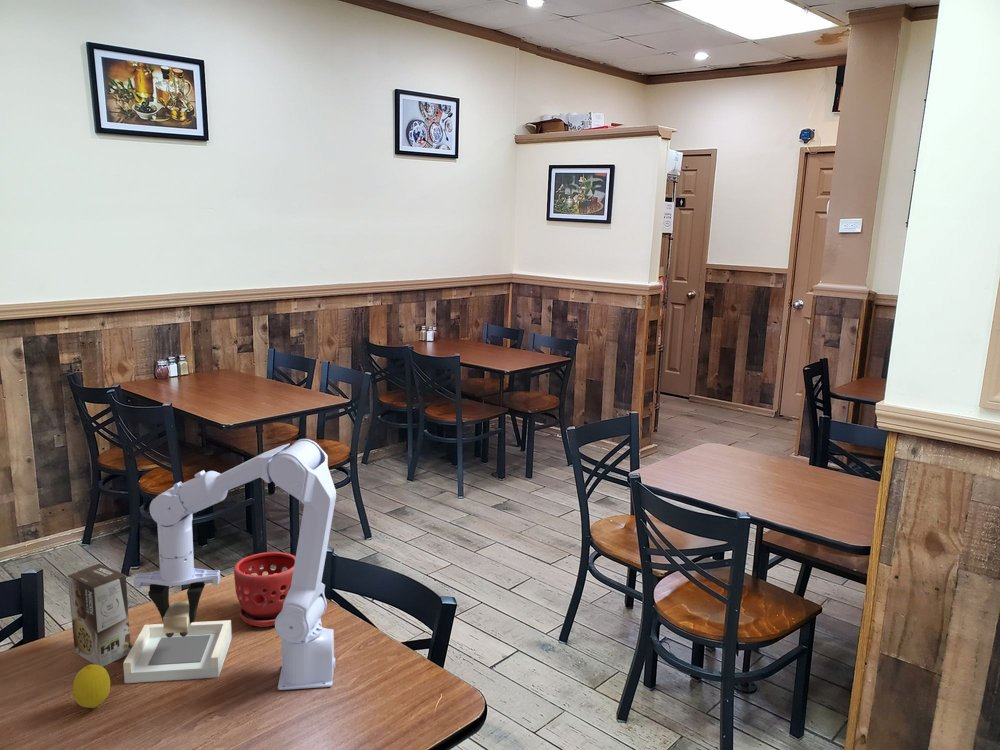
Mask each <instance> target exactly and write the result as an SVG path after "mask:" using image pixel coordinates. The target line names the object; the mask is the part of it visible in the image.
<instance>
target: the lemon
mask: <svg viewBox="0 0 1000 750" xmlns="http://www.w3.org/2000/svg"><path fill="white" fill-rule="evenodd" d="M110 690H111V678H110V675H109V673H108V671H107V669H106V668H104V666H103V667H102V666H100V665H95V664H93V663H92V664H91V663H90V664H88V665H86V666H84V667H82V668H81V669H80V670H79V671H78V672H77V673H76V675H75V677H74V680H73V683H72V694H73V698H74V700H75V701H76V703H77V704H78V705H79V706H80V707H82V708H89V709H90V708H91V709H95V708H96V707H97V706H99V705H101V704H102V703H103V702H104V701H105V700H106V699H107V698H108V696H109V693H110Z"/></svg>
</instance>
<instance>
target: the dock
mask: <svg viewBox="0 0 1000 750" xmlns="http://www.w3.org/2000/svg"><path fill="white" fill-rule="evenodd" d="M232 639H233V638H232V620H231V619H227V620H211V621H209V620H207V621H194V622H192V623H191V625H190V627H189V629H188V634H187V635H186V636H184V637H182V636H181V635H180V633H174V635H173V636H172V637H167V636H166V633H164V627H163V623H156V624H155V623H154V624H153V623H152V624H151V623H150V624H144V625H143V627H142V629H141V631H140V632H139V635H138V636H137V638H136V640H135V641H134V643H133V645H132V646H131V650H130V652H129V654H128V655H127V656H125V659H124V661H123V663H122V665H123V676H124V678H123V679H124V684H135V683H153V682H164V681H167V682H168V681H181V680H182V681H183V680H195V679H196V680H198V679H211V678H213V679H214V678H220V675H221V671H222V668H223V666H224V662H225V659H226V657H227V654H228V650H229V648H230V645H231V641H232Z"/></svg>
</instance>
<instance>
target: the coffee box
mask: <svg viewBox="0 0 1000 750" xmlns="http://www.w3.org/2000/svg"><path fill="white" fill-rule="evenodd" d="M67 585H68V596H69V605H70V606H69V608H70V613H71V614H70V616H71V626H72V638H73V649H74V654H76V653H77V654H76V655H78V656H79V655H80V656H79V657H81V658H83V659H85V660H86V661H88V662H90V664H91V663H92V665H100V666H102V667H103V668H104V667H105V666H107V665H109V664H112V663H114V662H116V661H118V660H120V659H122V658H126V657H127V656H128V654H129V652H130V650H131V648H132V646H131V631H130V630H131V629H130V617H129V604H128V603H129V602H128V601H129V600H128V588H127V587H128V586H127V575H126V574H124V573H123V572H119V571H117V570H115V569H114V568H111V567H108V566H105V564H102V563H97V564H93V565H91V566H88V567H87V568H86V567H85V568H84V569H81V570H78V571H76V572H73V573H70V574H68V575H67Z"/></svg>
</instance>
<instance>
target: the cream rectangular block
mask: <svg viewBox="0 0 1000 750" xmlns="http://www.w3.org/2000/svg"><path fill="white" fill-rule="evenodd" d="M191 623H192V622H191ZM191 623H190V619H189V601H188V600H183V601H182V600H181V601H180V600H179V601H171V602H170V603H169V608H168V610H167V612H166V613H165V615H164V617H163V621H162V624H163V627H164V633H166V636H167V637H172V636H173V635H174V633H180V635H181V636H182V637H184V636H186V635H187V634H188V629H189V627H190V625H191Z"/></svg>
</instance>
